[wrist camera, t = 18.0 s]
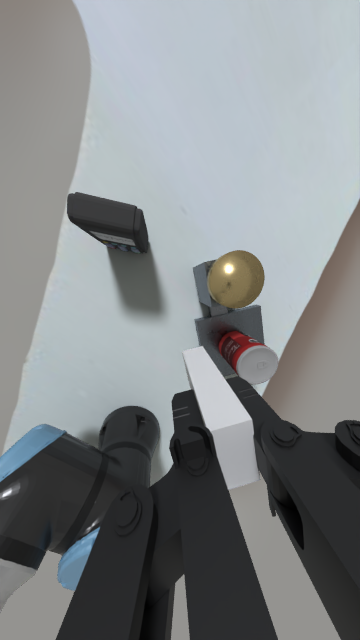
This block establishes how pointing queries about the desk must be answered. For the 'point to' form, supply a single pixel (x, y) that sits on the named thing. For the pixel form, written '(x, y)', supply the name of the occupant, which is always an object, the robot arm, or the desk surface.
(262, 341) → the grey stepped stand
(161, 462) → the desk surface
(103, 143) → the desk surface
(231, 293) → the door knob
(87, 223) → the card reader
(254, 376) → the canned food
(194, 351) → the robot arm
